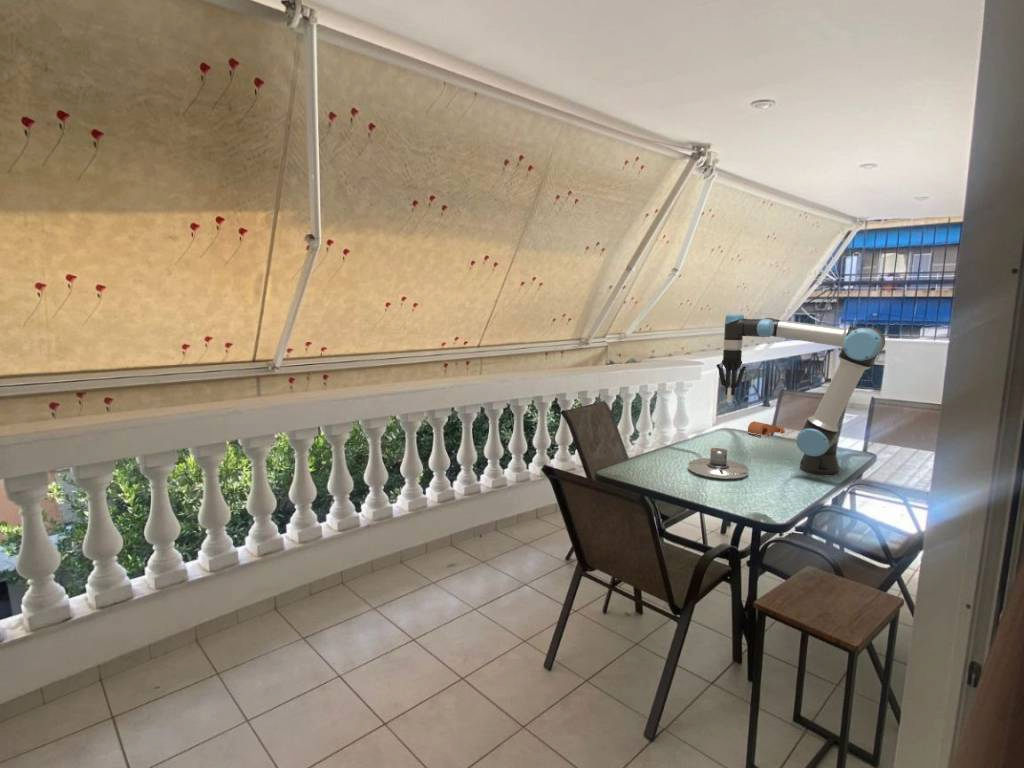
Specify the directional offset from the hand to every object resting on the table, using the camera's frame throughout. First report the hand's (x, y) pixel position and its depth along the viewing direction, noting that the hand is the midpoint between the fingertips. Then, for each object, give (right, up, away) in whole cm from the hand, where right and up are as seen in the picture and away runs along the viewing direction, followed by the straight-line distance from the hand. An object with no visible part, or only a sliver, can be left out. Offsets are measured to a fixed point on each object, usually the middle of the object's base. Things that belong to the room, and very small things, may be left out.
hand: (729, 401), depth 246 cm
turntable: (-9, -29, -10) cm, 32 cm away
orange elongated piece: (+42, -21, +55) cm, 72 cm away
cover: (-9, -27, -10) cm, 30 cm away
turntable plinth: (-9, -30, -10) cm, 33 cm away
